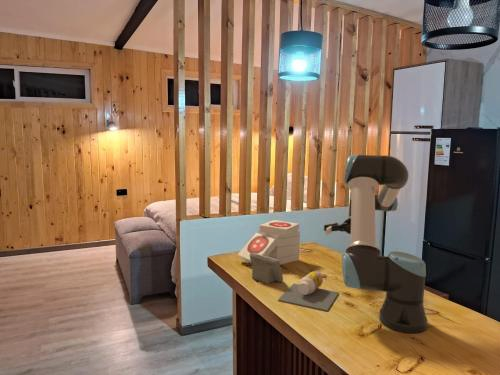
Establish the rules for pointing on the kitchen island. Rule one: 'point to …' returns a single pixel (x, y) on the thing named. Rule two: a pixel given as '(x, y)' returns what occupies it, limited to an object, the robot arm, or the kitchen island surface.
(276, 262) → the digital clock
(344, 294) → the kitchen island surface
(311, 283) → the supplement bottle
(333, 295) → the mat
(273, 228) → the pizza boxes
